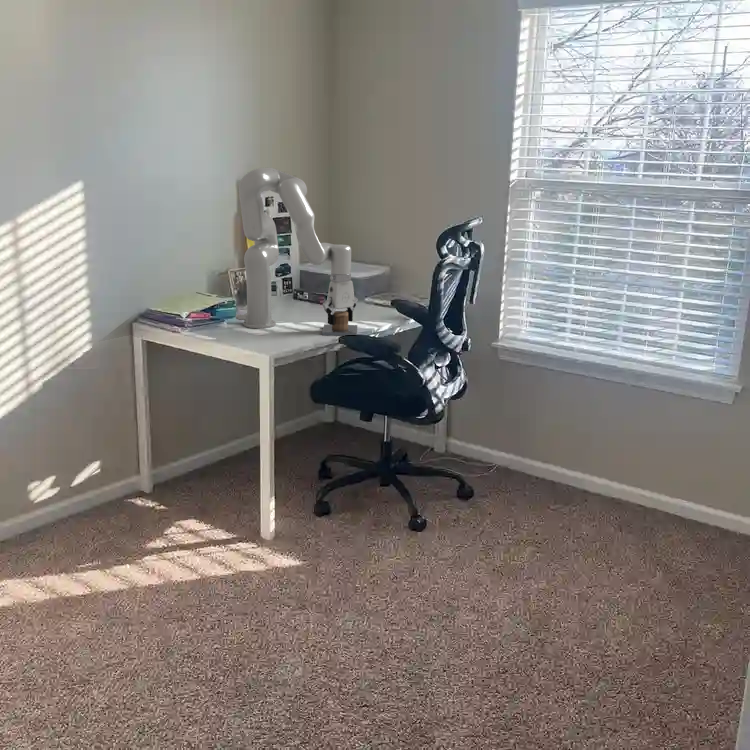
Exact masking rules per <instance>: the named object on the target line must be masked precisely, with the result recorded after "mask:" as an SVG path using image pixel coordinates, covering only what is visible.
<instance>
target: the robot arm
mask: <svg viewBox="0 0 750 750" xmlns="http://www.w3.org/2000/svg"><path fill="white" fill-rule="evenodd" d="M268 191H271V192H273V193H276V194H278V196H279V198H280V199H281V202H282V203H283V205H284V207H285V209H286V212H287V213H288V215H289V216H290V220H291V221H292V222H293V226H294V230H295V231H294V232H295V234H296V239H297V242H298V244H299V247H300V249H301V251H302V253H303V255H304V257H305V258H306V260H307V262H309V263H310V264H312V265H314V266H321V265H324V264H326V263H330V276H329V280H330V282H329V284H328V285H329V286H328V293H327V299H326V300H325V301H324V302H323V303H322V307H323V308H324V311H325V312H326V314H327V324H331V325H334V324H335V315H334V312H335V311H337V310H343V309H345V311H346V312H348V322H353V316H354V313H353V312H354V311H355V308H356V307H357V304H358V300H359V298H357V297H356V296H355V289H354V288H355V287H354V282H353V280H352V247H351V246H350V245H348V244H342V243H341V244H335V243H334V244H333V243H329V242H320V241H319V239H318V236H317V234H316V231H315V220H316V219H315V212H314V211H313V209H312V207H311V205H310V203H309V201H308V199H307V198H306V196H307V194H308V187H307V184H306V183H305V181H304V180H303V179H301V178H299V177H297V176H294V175H291V174H290V173H287V172H285V171H284V172H283V171H281V170H280V169H277V168H274V167H259V168H254V169H252V170H250V171H248V172H247V173H246V174H244V176H242V178H241V180H240V181H239V185H238V195H239V203H240V212H241V218H242V229H243V233H244V236H245V238H247V240H250V241H253V242H254V244H253V245H252V246H249V247H248V248H247V250H246V251H245V253H244V256H243V257H244V258H243V261H244V262H243V263H244V269H245V279H246V313H244V314H240V313H239V314H237V313H236V315H235V319H236V320H238V321H243V322H242V323H243V326H244V327H245V328H248V329H249V328H250V329H268V328H273V327H275V326H276V325H277V323H276V321H275V320H273V319H272V317H273V316H272V314H273V313H272V309H273V308H272V275H271V269H270V266H272V265H274V264H276V262H277V261H278V259H279V255H280V254H279V253H280V250H279V248H280V247H279V243H278V242H279V241H278V232H277V225H276V223H275V221H274V219H273V218H272V217H271V216H270V215H269V214H265V209H264V202H263V198H262V196H261V194H262V193H263V192H268Z"/></svg>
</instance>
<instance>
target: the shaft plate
mask: <svg viewBox="0 0 750 750" xmlns="http://www.w3.org/2000/svg"><path fill="white" fill-rule="evenodd" d="M321 333H322V334H321V335H322V336H335V337H336V336H337V337H339V336H341V337H343V336H344V337H346V336H345V335H358V324H348V329H347V330H334V329H332V325H331V324H328V323H327V324H323V328H322V332H321Z"/></svg>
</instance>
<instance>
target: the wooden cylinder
mask: <svg viewBox="0 0 750 750" xmlns="http://www.w3.org/2000/svg"><path fill="white" fill-rule="evenodd" d="M334 315H335V324H334V325H332V329H334V330H347V329H348V325H349V321H348V312H346V310H335V312H334Z"/></svg>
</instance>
